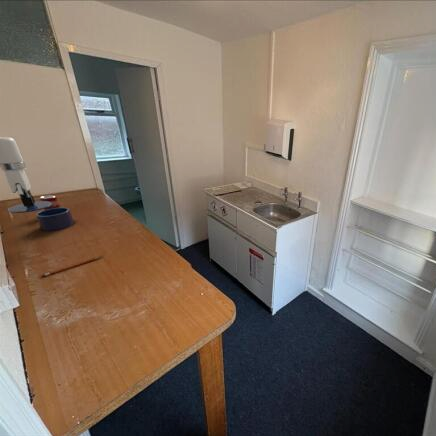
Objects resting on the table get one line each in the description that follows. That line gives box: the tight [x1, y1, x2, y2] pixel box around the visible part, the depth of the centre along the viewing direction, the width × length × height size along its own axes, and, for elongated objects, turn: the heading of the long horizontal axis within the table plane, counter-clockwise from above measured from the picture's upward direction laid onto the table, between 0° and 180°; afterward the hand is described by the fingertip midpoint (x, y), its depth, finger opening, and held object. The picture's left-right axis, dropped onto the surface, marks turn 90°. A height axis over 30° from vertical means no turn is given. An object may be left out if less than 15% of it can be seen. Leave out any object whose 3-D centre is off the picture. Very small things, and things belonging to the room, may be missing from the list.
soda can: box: [39, 194, 61, 211], centre depth 145 cm, size 7×7×12 cm
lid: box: [7, 194, 52, 214], centre depth 111 cm, size 15×15×7 cm
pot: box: [35, 207, 75, 232], centre depth 132 cm, size 14×14×8 cm
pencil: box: [42, 256, 100, 278], centre depth 100 cm, size 1×19×1 cm, turn 140°
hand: (29, 204), depth 111 cm, fingers closed on lid, 3 cm apart
